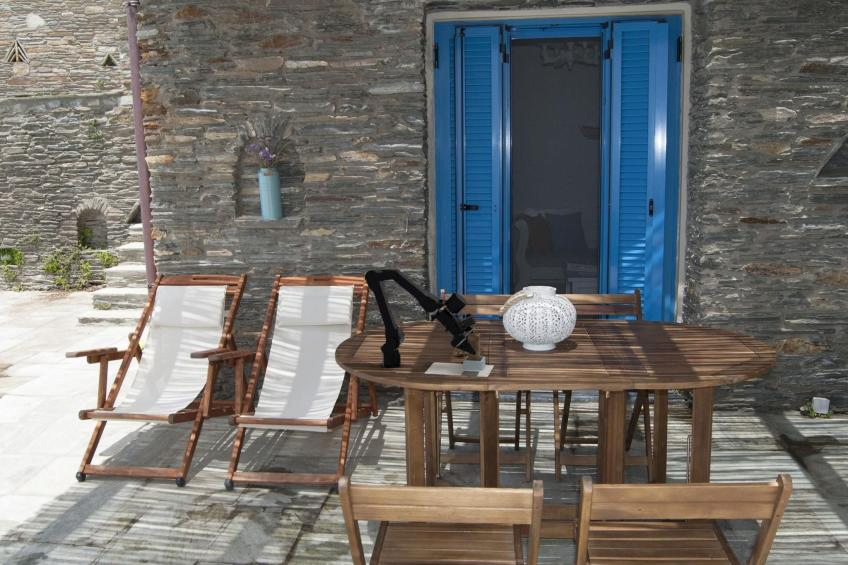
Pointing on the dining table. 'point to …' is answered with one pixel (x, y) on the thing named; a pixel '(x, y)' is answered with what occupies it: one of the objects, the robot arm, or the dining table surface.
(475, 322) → the robot arm
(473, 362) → the sleeve
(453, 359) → the dining table surface
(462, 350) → the lion figurine
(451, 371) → the board
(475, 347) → the walnut block
